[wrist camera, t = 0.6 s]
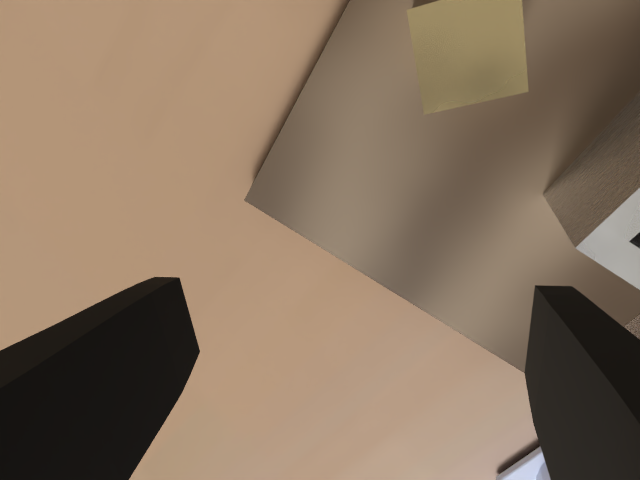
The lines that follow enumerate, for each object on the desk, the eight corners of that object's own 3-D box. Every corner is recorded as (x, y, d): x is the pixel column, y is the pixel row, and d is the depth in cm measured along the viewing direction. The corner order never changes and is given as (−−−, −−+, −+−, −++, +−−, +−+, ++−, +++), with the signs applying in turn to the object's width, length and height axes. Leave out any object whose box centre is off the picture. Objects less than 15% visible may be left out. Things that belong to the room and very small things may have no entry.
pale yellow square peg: (493, -16, 13) (520, -24, 10) (502, 69, 14) (528, 91, 11) (412, 8, 14) (406, 10, 10) (424, 87, 15) (424, 114, 11)
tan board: (1060, -46, 11) (1111, -50, 11) (540, 369, 20) (545, 386, 19) (578, -420, 10) (592, -460, 9) (252, 191, 19) (243, 200, 18)
